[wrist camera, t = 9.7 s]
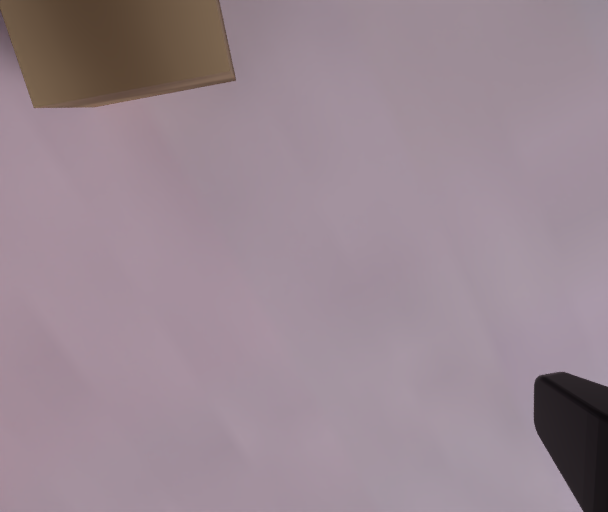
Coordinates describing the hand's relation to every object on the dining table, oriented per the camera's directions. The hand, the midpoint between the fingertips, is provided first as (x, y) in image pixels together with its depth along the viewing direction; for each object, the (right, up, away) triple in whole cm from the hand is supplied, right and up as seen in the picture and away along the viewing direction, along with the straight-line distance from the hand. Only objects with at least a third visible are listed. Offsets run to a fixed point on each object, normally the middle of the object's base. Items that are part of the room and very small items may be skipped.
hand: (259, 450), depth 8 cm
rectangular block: (-5, +11, +9) cm, 15 cm away
